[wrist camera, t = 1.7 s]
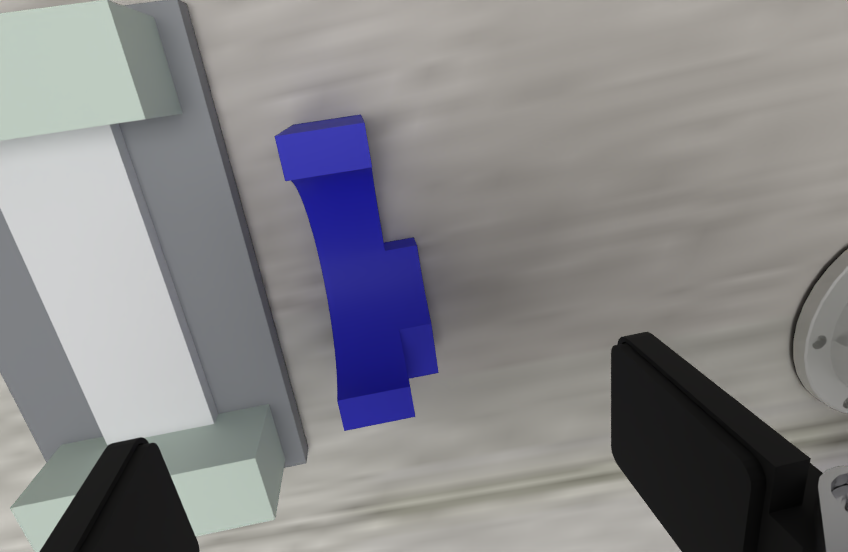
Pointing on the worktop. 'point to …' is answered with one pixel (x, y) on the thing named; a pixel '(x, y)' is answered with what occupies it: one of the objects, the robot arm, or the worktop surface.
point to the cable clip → (361, 273)
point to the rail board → (132, 268)
